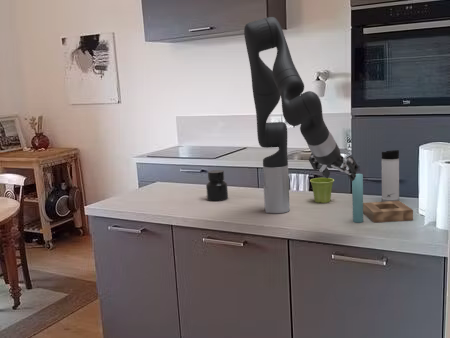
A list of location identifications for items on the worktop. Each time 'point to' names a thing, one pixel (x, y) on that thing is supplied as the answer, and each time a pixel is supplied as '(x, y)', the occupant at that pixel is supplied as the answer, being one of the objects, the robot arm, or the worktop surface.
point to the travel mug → (390, 176)
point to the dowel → (357, 198)
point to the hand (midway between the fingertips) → (340, 177)
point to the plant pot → (322, 189)
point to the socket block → (387, 211)
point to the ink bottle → (216, 186)
